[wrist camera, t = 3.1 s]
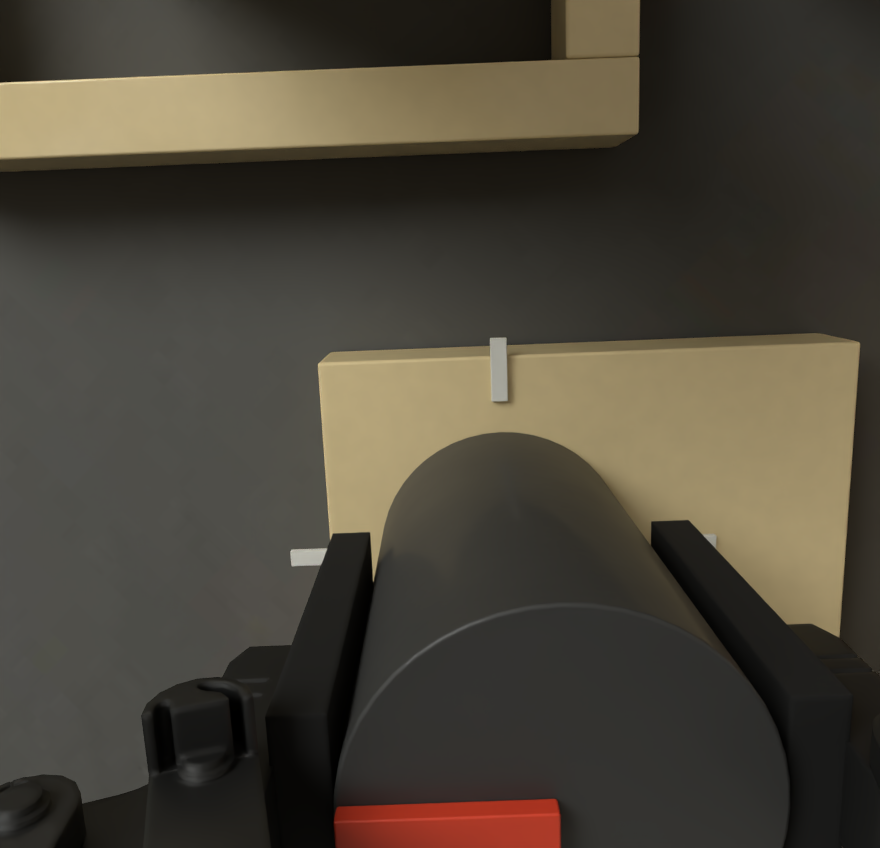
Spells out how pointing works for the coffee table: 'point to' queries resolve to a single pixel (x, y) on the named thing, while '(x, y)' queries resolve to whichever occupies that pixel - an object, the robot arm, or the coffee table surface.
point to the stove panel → (627, 439)
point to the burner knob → (544, 676)
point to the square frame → (341, 107)
